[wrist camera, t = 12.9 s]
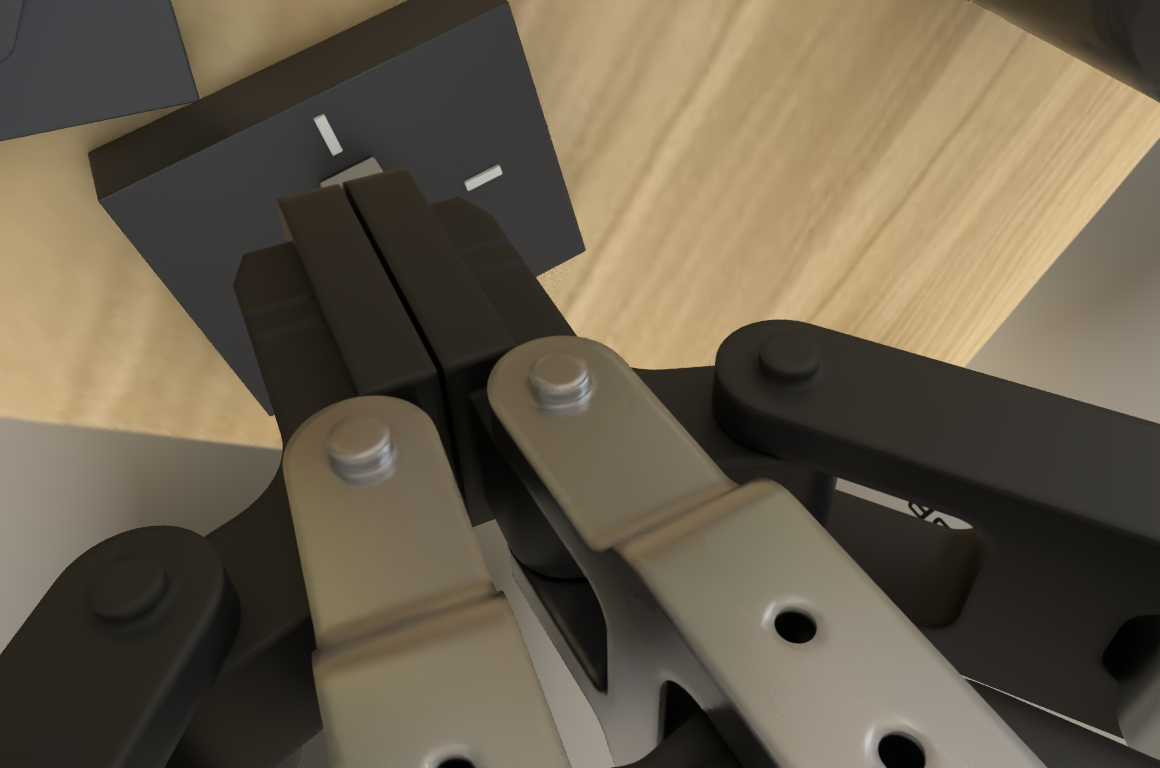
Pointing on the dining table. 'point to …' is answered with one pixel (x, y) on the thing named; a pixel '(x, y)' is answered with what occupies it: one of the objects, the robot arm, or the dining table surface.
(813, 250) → the dining table surface
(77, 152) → the dining table surface
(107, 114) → the red button base
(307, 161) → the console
